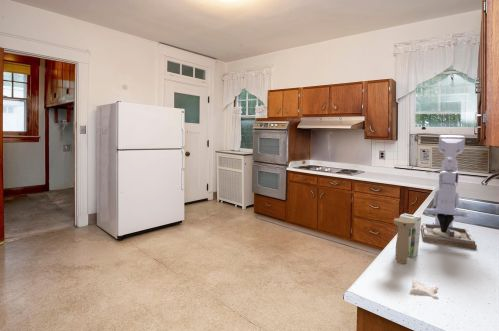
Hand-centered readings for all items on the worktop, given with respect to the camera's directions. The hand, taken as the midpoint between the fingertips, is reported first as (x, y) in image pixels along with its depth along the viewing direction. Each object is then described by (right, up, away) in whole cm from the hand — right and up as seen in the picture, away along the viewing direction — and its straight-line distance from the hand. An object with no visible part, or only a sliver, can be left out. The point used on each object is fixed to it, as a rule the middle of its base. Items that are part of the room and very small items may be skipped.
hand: (443, 231), depth 121 cm
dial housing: (+4, -4, +4) cm, 7 cm away
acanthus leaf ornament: (-31, -9, -38) cm, 50 cm away
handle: (-28, -6, -20) cm, 36 cm away
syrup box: (-22, -5, -12) cm, 26 cm away
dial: (+4, -2, +3) cm, 5 cm away
